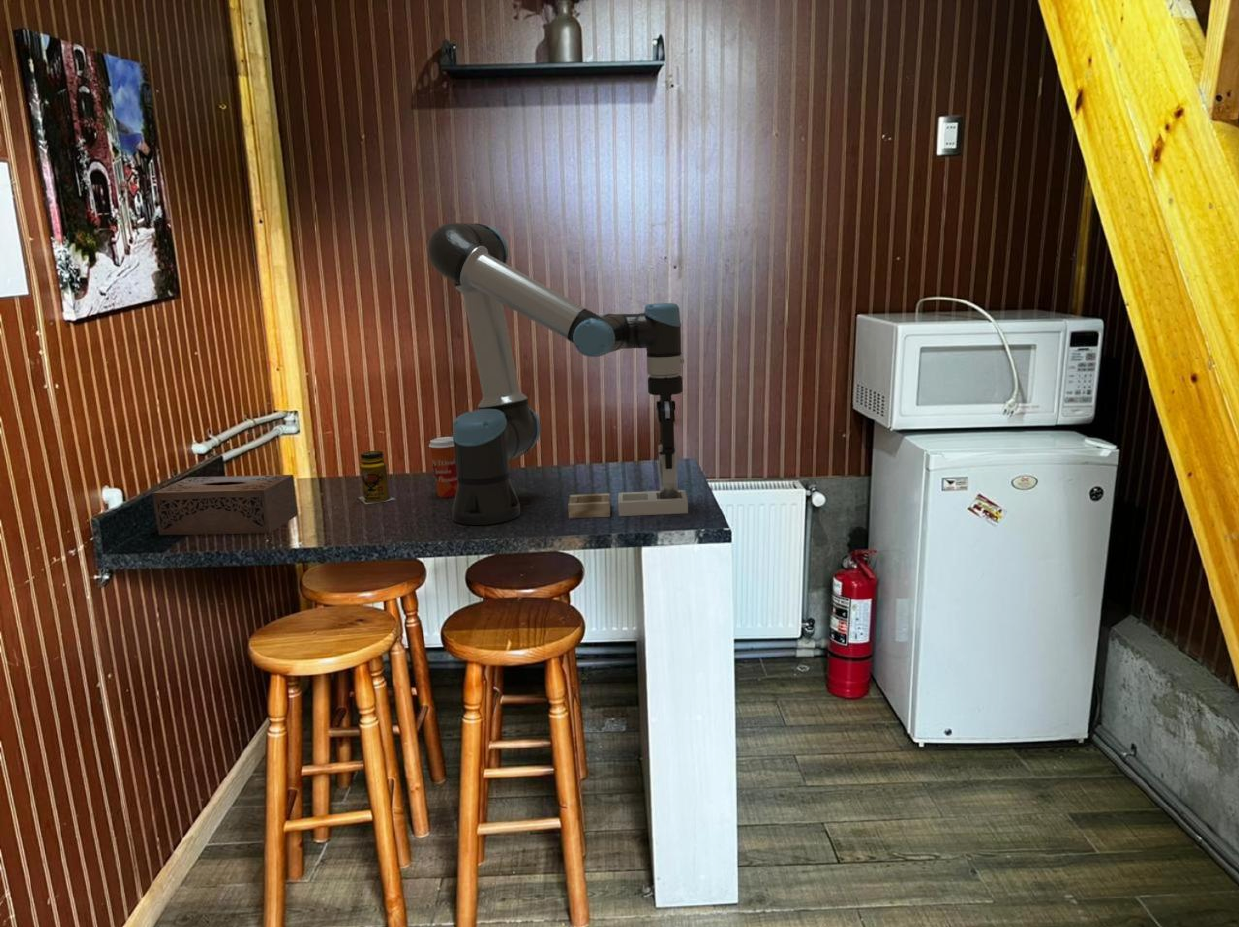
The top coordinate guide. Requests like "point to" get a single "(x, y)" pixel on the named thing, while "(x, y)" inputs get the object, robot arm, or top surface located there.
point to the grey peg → (668, 488)
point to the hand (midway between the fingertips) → (668, 479)
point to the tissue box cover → (225, 505)
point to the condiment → (374, 478)
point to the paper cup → (444, 466)
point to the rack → (651, 503)
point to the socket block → (589, 505)
